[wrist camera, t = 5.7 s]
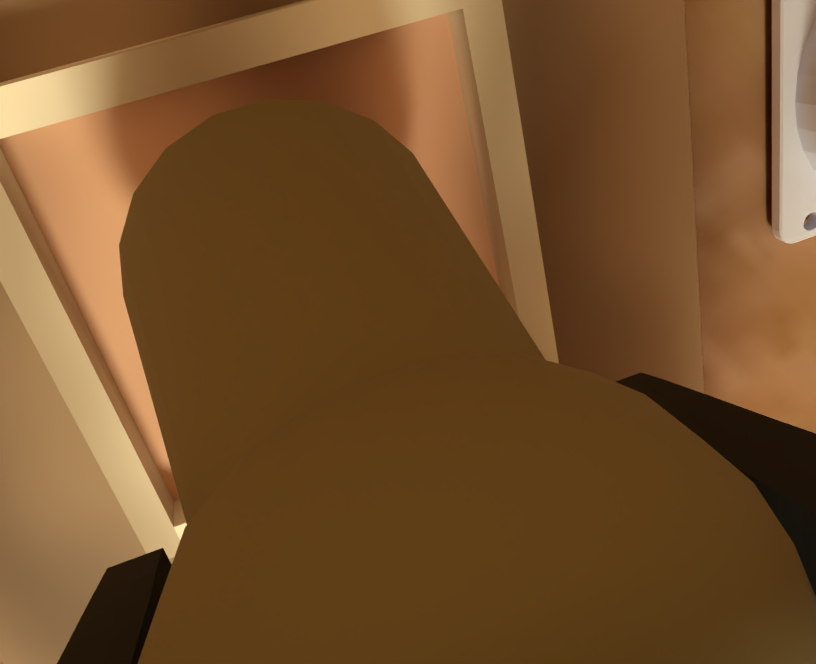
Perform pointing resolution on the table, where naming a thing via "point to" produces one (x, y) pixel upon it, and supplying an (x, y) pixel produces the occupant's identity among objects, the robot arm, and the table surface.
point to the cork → (410, 436)
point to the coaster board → (362, 94)
